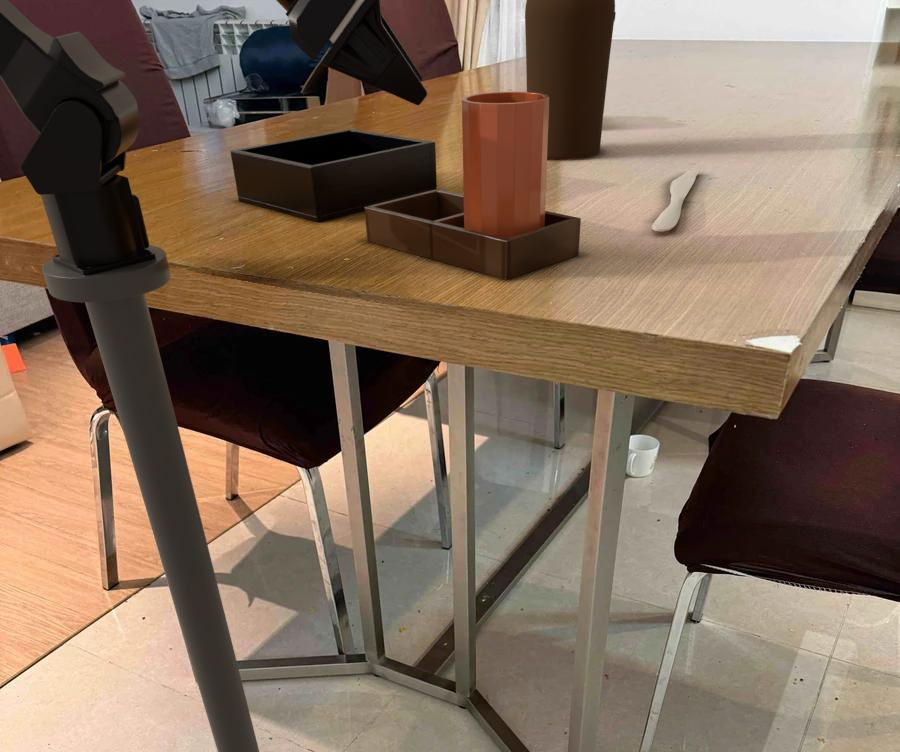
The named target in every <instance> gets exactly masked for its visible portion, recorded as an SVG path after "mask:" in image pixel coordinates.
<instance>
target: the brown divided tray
mask: <svg viewBox="0 0 900 752" xmlns="http://www.w3.org/2000/svg"><path fill="white" fill-rule="evenodd" d="M364 209H365V210H364V218H365V219H364V220H365V230H366V242H369V243H373V244H375V245H379V246H383V247H387V248H390V249H394V250H397V251H401V252H405V253H409V254H412V255H416V256H418V257H423V258H426V259H430V260H433V261H438V262H441V263H445V264H449V265H452V266H455V267H459V268H463V269H466V270H469V271H474V272H476V273H477V272H478V273H480V274H484V275H488V276H492V277H495V278H499V279H502V280H510V279H513V278H515V277H519V276H521V275H524V274H527V273H530V272H532V271H535V270H538V269H542V268H544V267H547V266H550V265H553V264H555V263H559V262H562V261H564V260H567V259H570V258H573V257H576V256H579V254H580V240H581V239H580V238H581V225H582V224H581V223H582V222H581V221H582V219H581V217H578V216H572V215H567V214H562V213H557V212H552V211H547V210H545V227H542V228H538V229H535V230H532V231H529V232H525V233H522V234H519V235H516V236H512V237H509V238H502V237H498V236H494V235H490V234H485V233H481V232H477V231H473V230H469V229H464V193H459V192H454V191H448V190H444V189H439V188H437V189H436V190H432V191H428V192H424V193H420V194H415V195H411V196H407V197H403V198H399V199H395V200H391V201H387V202H383V203H379V204H375V205H371V206H367V207H364Z"/></svg>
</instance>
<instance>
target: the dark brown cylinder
mask: <svg viewBox="0 0 900 752" xmlns="http://www.w3.org/2000/svg"><path fill="white" fill-rule="evenodd" d="M524 8H525V10H524V26H525V27H524V28H525V29H524V31H525V68H526V71H525V73H526V76H525V77H526V92H534V93H542V94H546V95H548V96H549V119H548V147H547V160H574V159H575V160H576V159H583V158H589V157H592V156H595V155H597V154H599V153H600V151H601V143H602V133H603V124H604V123H603V121H604V112H605V104H606V103H605V102H606V93H607V85H608V77H609V76H608V75H609V69H610V68H609V67H610V59H611V58H610V57H611V48H612V42H613V41H612V40H613V33H614V24H615V20H616V14H617V12H616V0H526V2H525V7H524Z"/></svg>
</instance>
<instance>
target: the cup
mask: <svg viewBox="0 0 900 752" xmlns="http://www.w3.org/2000/svg"><path fill="white" fill-rule="evenodd" d="M548 119H549V96H548V95H546V94H542V93H534V92H527V91H493V92H481V93H474V94H469V95H466V96H463V97H462V98H461V130H462V131H461V133H462V135H461V136H462V139H461V140H462V176H463V177H462V180H463V181H462V182H463V184H462V185H463V188H462V189H463V194H464V229H469V230H473V231H477V232H481V233H485V234H490V235H494V236H498V237H502V238H509V237H512V236H516V235H519V234H522V233H525V232H529V231H532V230H535V229H538V228H542V227H545V211H546V201H547V200H546V199H547V173H548V172H547V171H548V159H547V147H548Z"/></svg>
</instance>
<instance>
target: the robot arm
mask: <svg viewBox="0 0 900 752" xmlns="http://www.w3.org/2000/svg"><path fill="white" fill-rule="evenodd" d="M275 1H276V2H277V3H278V4H279V5H280V6H281V7H282V8H283V9H284V10H285V11H286V13H285V15H286V17H287V18H288V25H289V34H290V40H291V41H292V42H293V43H294V44H295V45H296V46H297V47H298V48H299V49H300V50H301V51H302V52H303V53H304V54H305V55H306V56H307V57H308V58H309V59H310V60H311V61H312V62H315V60H316V59H317V57H318V56H319V55H320V53H321V52H322V51H323V49H324V48H325V46H326V45H327V43H329V41H330V42H331V43H330V44H329V46H328V48H329V50H327V52H326V54H325V55H324V56H323V58H322V59H321V60H320V62H319V63H320V65H321V66H323V67H325V68H329V69H331V70H334V71H337V72H339V73H341V74H343V75H346V76H348V77H350V78H353V79H355V80H358V81H360V82H363V83H365V84H367V85H370V86H372V87H374V88H376V89H379V90H381V91H384V92H385V93H388V94H390V95H393V96H395V97H397V98H400V99H401V100H404V101H405V102H406V101H407V102H409V103H411V104H413V105H415V106H419V105H421V104H422V103H423V102H424V100H425V99H426V98H427V96H428V91H427V89H426V88H425V86H424V84H423V83H422V81H423V76H422V74H421V73H420V72H419V69H418V68H417V67H416V65H415V64H414V62H413V61H412V59H411V58H410V56H409V54H408V53H407V51H406V50H405V48H404V47H403V44H402V43H401V42H400V40H399V39H398V37H397V35H396V34H395V33H394V31H393V30H392V28H391V26H390V25H389V23H388V21H387V20H386V18H385V16H384V15H383V12H382V9H381V8H382V7H381V0H275ZM126 75H127V74H126V73H125V71H122V70H120V69H118V68H116V67H114V66H113V65H112V64H111V63H108V62H107V61H106V60H105V59H104V58H103V57H102V56H101V55H100V54H99V52H98V51H97V50H96V49H95V47H94V46H93V45H92V43H91V42H90V40H89V39H87V37H85V36H84V34H82V33H81V32H80V31H75V32H71V33H67V34H63V35H58V36H55V37H54V36H51V35H50V34H48V33H46V32H45V31H43V30H41V29H40V28H38V27H37V26H36V25H35V24H33V23H32V22H31V21H30V20H29V19H28V18H27V16H25V15H24V14H23V13H22V12H21V11H20V10H19V9H18V8H16V7H15V5H13V3H11V2H10V1H9V0H0V80H1V81H2V82H3V84H4V86H5V87H6V89H7V91H8V93H9V94H10V96H11V97H12V99H13V100H14V102H15V104H16V105H17V107H18V109H19V111H20V112H21V114H22V115H23V117H25V119H26V120H27V121H28V122H29V123H30V124H31V126H32V127H33V128H34V129H35V131H37V133H38V134H39V135H38V137H37V139H36V140H35V142H34V143H33V144H32V146H31V147H30V148H31V149H30V150H29V152H28V153H27V155H26V156H25V158H24V160H23V162H22V164H21V166H20V169H21V171H22V173H23V174H24V176H25V178H26V179H27V181H28V182H29V184H30V185H31V186H32V188H33V189H34V191H35V193H36V194H37V195H39V196H40V197H41V200H42V205H43V208H44V210H45V214H46V217H47V220H48V224H49V226H50V230H51V233H52V237H53V241H54V243H55V246H56V251H57V254H53V255H52V256H51V259H53V262H55V263H57V264H59V265H61V266H64V267H66V268H68V269H70V270H72V271H75V272H77V273H79V274H81V275H92V274H96V273H100V272H104V271H108V270H112V269H116V268H120V267H124V266H128V265H133V264H137V263H141V262H145V261H149V260H153V259H155V258H156V256H155V252H152V251H150V250H147V249H145V248H148V247H149V245H151V244H150V240H149V237H148V232H147V228H146V224H145V220H144V215H143V211H142V207H141V203H140V198H139V196H137V195H136V194H134V193H133V192H132V188H131V185H130V180H129V177H127V176H124V175H120V174H119V173H120V172H123V171H124V170H125V169H126V162H127V161H126V160H127V152H128V151H127V150H128V149H129V148H130V147H131V146H132V145H133V144H134V143H135V141H136V139H137V138H138V135H139V133H140V127H141V126H140V125H141V117H140V112H139V107H138V102H137V100H136V98H135V96H134V95H133V93H132V92H131V90H130V89H129V88H128V86H127V85H126V84H124V83H123V81H121V80H122V79H124V78H126Z"/></svg>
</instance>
